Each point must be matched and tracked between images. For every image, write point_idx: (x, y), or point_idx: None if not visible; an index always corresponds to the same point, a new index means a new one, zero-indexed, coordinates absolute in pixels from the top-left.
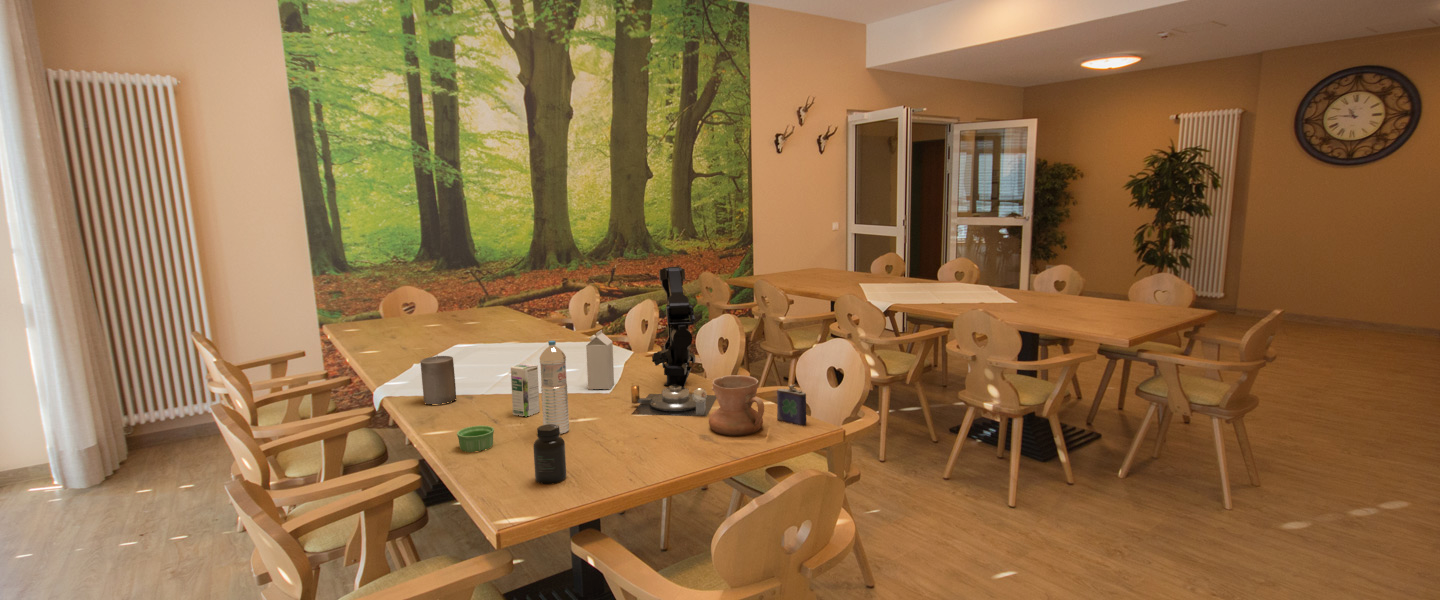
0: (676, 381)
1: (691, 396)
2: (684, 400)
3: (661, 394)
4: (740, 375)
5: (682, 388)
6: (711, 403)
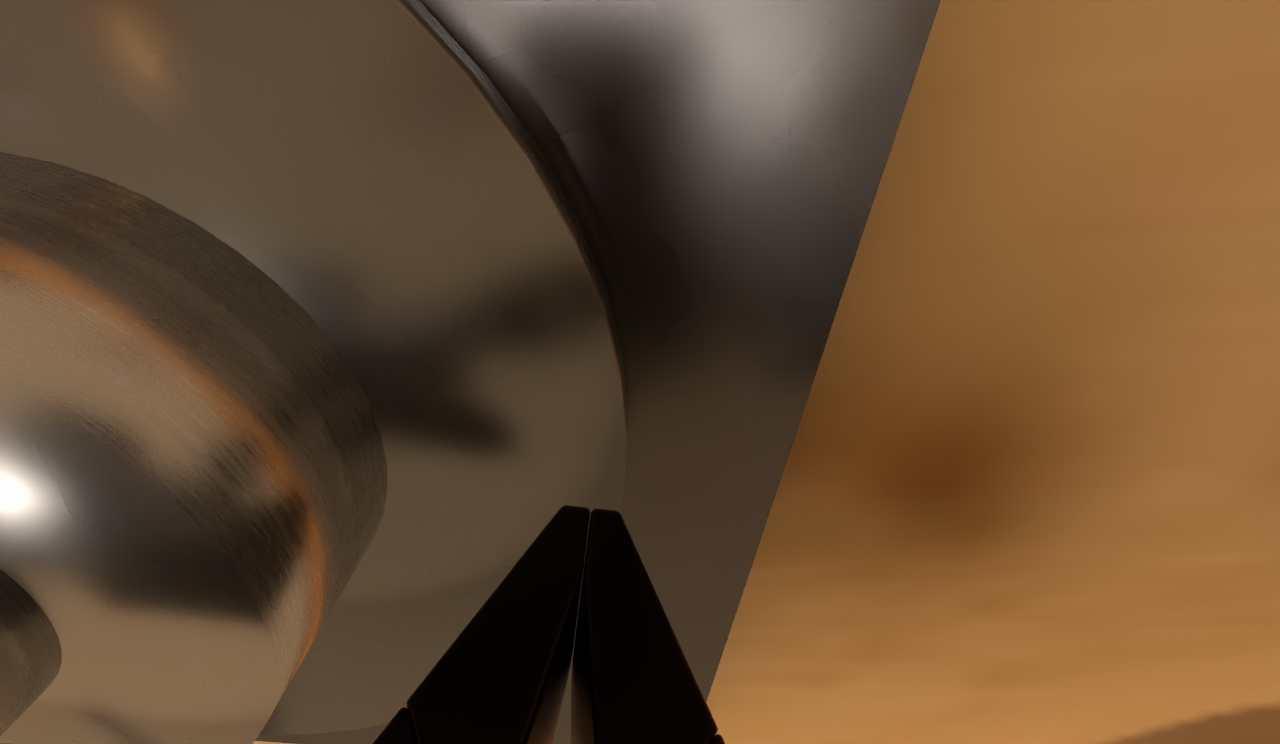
0: (394, 722)
1: (412, 630)
2: None
3: (882, 23)
4: None
5: (138, 716)
6: (352, 733)
